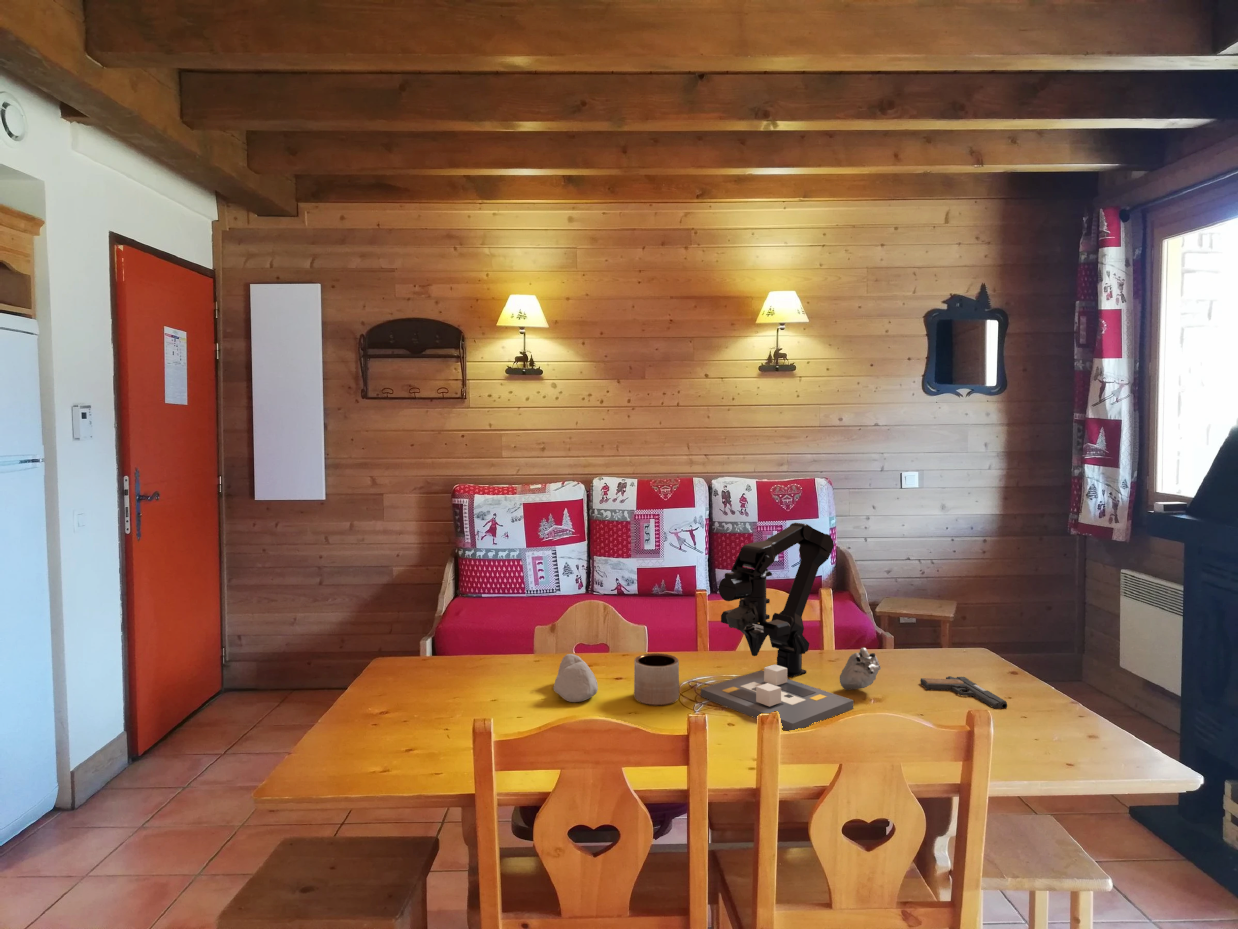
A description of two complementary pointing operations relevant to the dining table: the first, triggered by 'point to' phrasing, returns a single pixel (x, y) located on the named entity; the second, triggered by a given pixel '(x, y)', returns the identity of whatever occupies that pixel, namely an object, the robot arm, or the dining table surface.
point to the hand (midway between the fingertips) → (754, 655)
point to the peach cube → (775, 674)
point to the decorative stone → (575, 679)
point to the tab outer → (768, 694)
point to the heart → (859, 670)
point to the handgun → (964, 689)
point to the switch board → (796, 700)
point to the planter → (656, 679)
